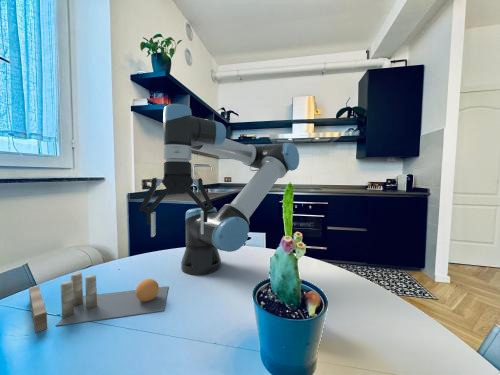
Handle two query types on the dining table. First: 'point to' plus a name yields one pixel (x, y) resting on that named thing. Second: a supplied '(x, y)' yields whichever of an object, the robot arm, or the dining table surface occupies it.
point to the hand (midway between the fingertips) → (178, 234)
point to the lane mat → (116, 307)
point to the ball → (147, 290)
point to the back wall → (38, 309)
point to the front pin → (91, 291)
